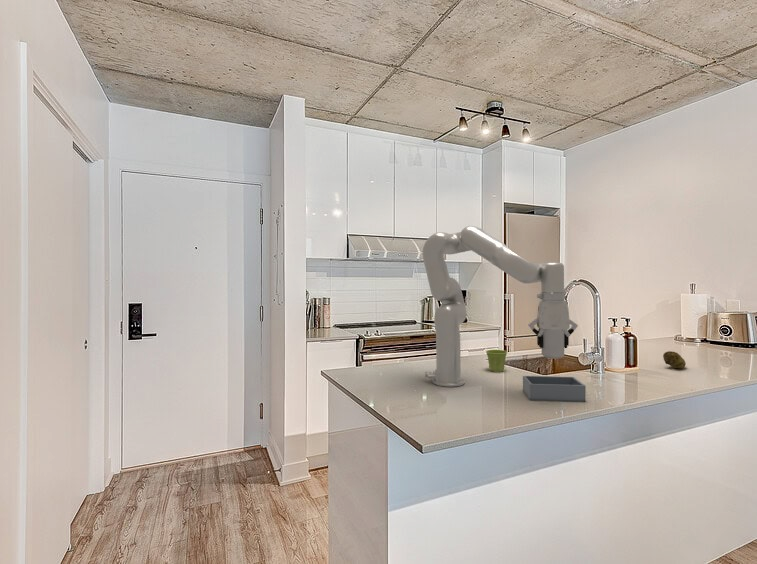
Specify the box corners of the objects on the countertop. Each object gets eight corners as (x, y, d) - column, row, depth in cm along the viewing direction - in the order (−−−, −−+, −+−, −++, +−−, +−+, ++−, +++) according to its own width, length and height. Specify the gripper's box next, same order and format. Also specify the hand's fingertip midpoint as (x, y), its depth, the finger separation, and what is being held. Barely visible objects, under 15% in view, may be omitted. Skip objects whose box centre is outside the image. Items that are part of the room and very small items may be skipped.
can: (566, 359, 143) (566, 324, 143) (543, 358, 145) (543, 324, 145) (561, 355, 151) (561, 322, 150) (539, 354, 152) (539, 321, 152)
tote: (530, 400, 143) (530, 384, 143) (522, 390, 155) (522, 375, 155) (585, 401, 141) (585, 385, 141) (573, 391, 153) (573, 376, 153)
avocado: (694, 369, 186) (695, 351, 186) (673, 371, 182) (674, 353, 182) (676, 365, 194) (676, 348, 194) (655, 367, 190) (656, 350, 190)
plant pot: (485, 372, 184) (485, 352, 183) (486, 367, 193) (486, 349, 192) (507, 373, 181) (507, 353, 181) (507, 369, 190) (507, 350, 190)
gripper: (529, 298, 145) (529, 349, 145) (582, 298, 143) (582, 349, 143) (524, 297, 152) (525, 345, 153) (575, 296, 150) (575, 345, 150)
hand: (552, 347), depth 148 cm, fingers closed on can, 7 cm apart
